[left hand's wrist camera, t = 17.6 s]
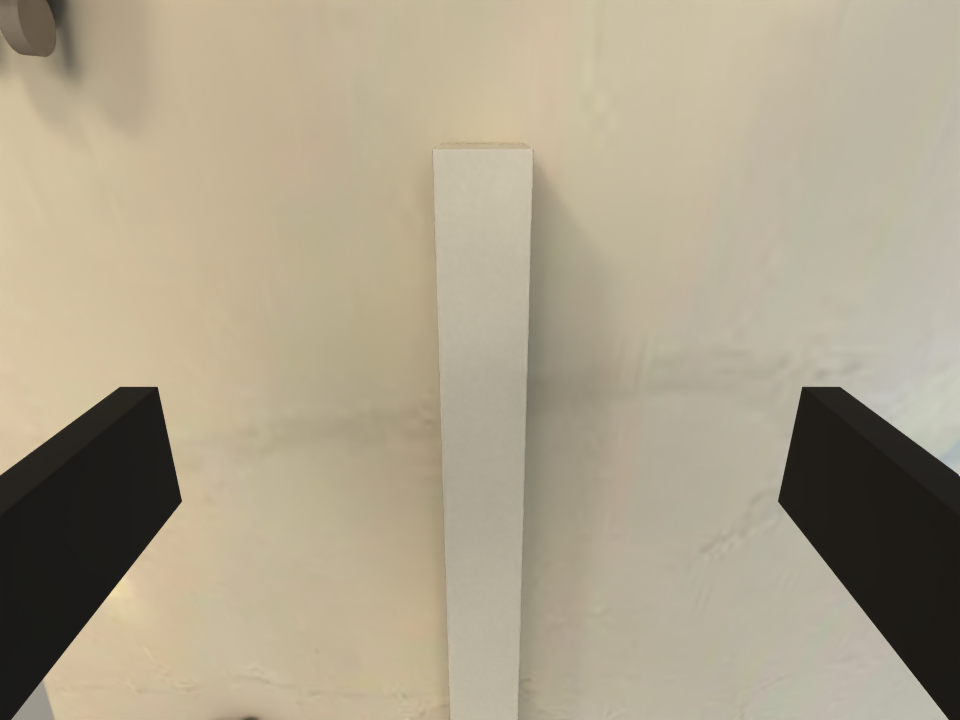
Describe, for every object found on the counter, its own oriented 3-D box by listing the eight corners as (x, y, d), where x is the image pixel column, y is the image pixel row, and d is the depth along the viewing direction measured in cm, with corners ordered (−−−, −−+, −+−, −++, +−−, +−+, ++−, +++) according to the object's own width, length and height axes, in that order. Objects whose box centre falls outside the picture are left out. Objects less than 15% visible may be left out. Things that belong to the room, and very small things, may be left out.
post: (441, 143, 41) (432, 149, 34) (523, 143, 41) (533, 148, 34) (457, 767, 64) (454, 858, 56) (510, 767, 64) (514, 857, 56)
